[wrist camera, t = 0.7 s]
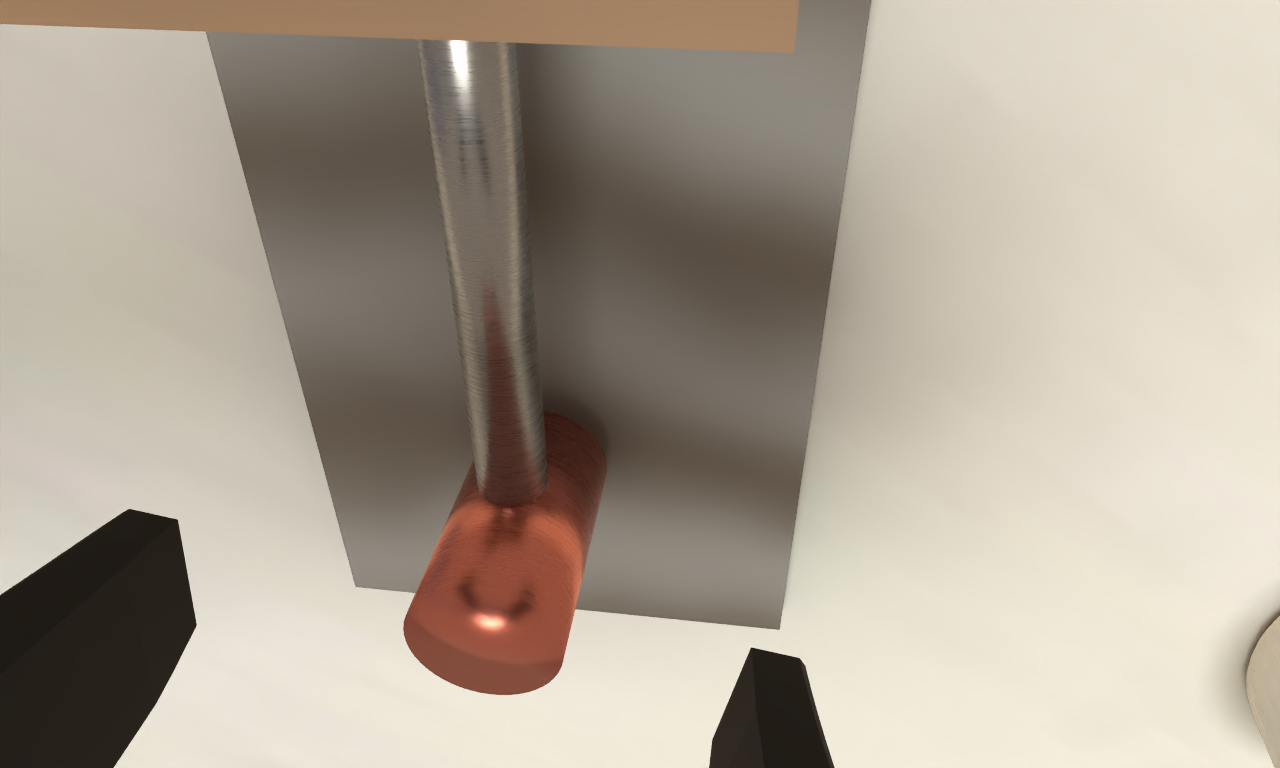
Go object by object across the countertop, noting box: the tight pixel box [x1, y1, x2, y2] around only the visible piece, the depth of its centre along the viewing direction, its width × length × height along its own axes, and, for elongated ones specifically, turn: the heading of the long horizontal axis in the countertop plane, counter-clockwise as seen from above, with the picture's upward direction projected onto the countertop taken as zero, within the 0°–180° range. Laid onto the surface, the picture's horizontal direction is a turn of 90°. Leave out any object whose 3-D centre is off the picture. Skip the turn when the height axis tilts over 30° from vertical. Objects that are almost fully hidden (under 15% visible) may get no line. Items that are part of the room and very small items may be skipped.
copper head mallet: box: [403, 39, 607, 695], centre depth 14 cm, size 18×3×5 cm, turn 0°
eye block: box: [0, 0, 871, 630], centre depth 15 cm, size 24×12×8 cm, turn 0°
